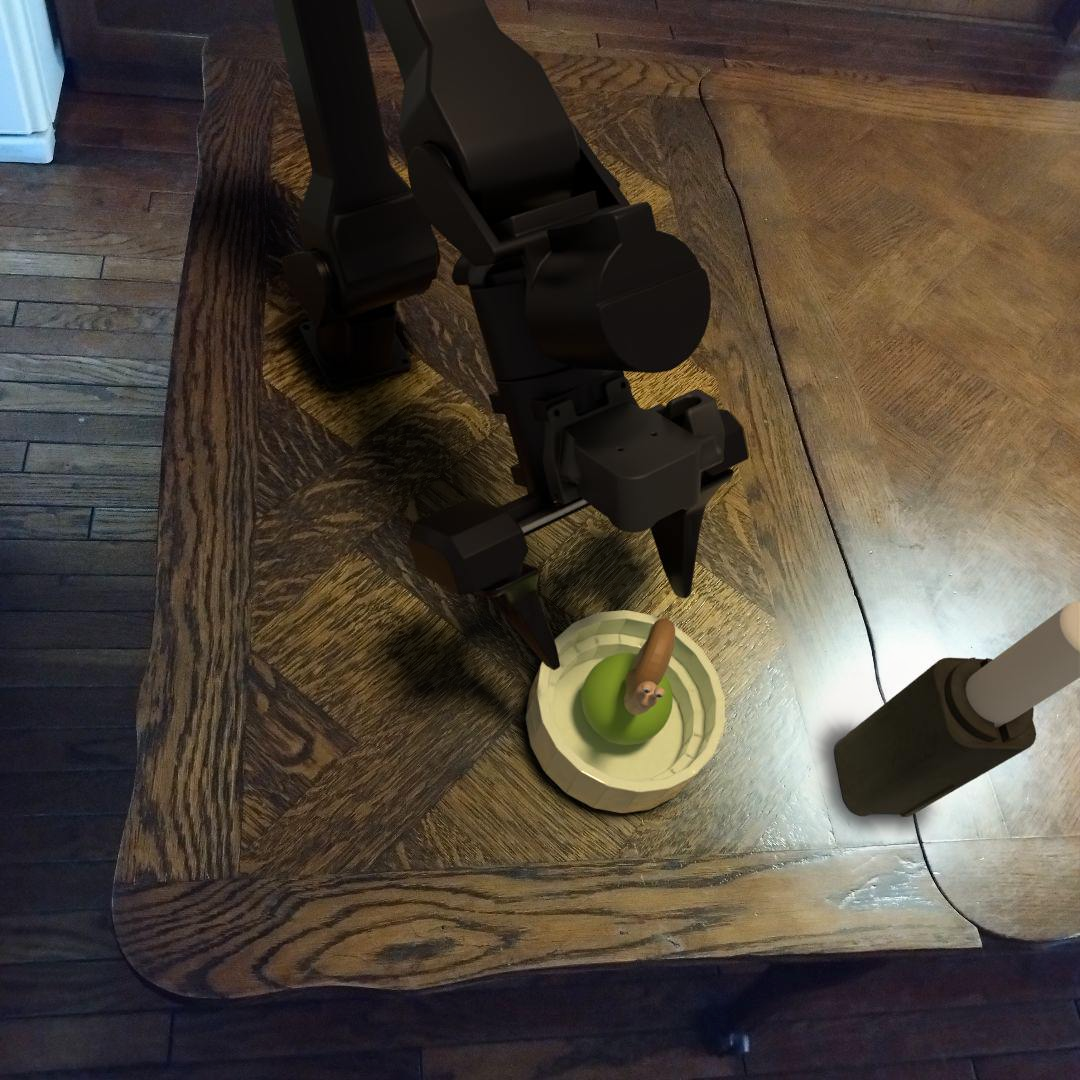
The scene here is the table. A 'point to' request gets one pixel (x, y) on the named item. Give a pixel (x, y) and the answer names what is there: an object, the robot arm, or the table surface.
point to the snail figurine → (632, 690)
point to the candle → (956, 721)
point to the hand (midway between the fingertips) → (620, 630)
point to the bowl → (608, 767)
